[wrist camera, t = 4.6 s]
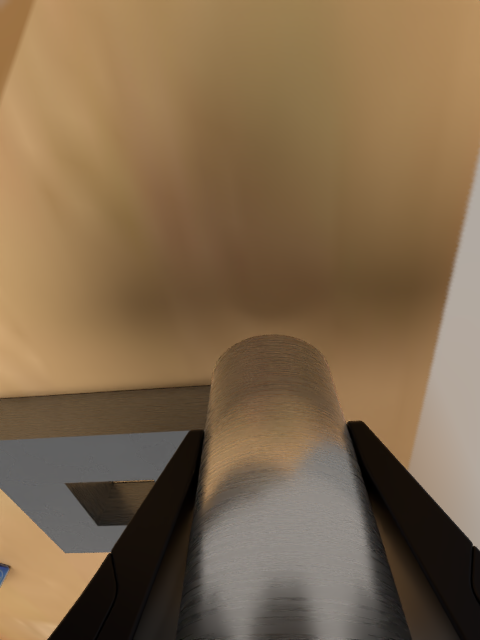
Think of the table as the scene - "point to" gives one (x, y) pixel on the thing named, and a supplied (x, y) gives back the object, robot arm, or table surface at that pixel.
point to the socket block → (92, 457)
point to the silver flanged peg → (283, 510)
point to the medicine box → (3, 573)
